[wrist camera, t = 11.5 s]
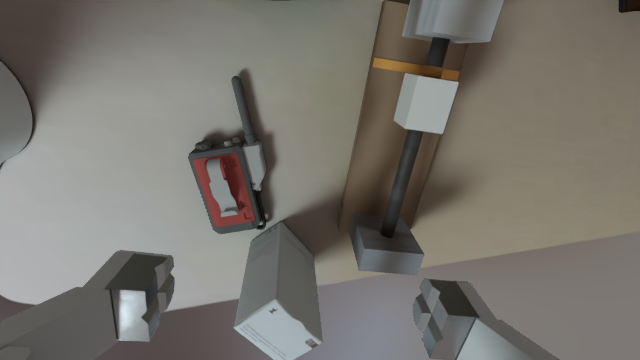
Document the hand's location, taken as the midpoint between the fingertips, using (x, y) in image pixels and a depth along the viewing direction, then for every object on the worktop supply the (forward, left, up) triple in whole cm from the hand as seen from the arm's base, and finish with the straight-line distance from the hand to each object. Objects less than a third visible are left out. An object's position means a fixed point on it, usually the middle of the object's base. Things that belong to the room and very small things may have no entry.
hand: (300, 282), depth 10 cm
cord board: (+12, -1, -29) cm, 31 cm away
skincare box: (0, -20, -29) cm, 36 cm away
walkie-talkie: (-8, -7, -30) cm, 32 cm away
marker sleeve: (+12, +4, -25) cm, 28 cm away
